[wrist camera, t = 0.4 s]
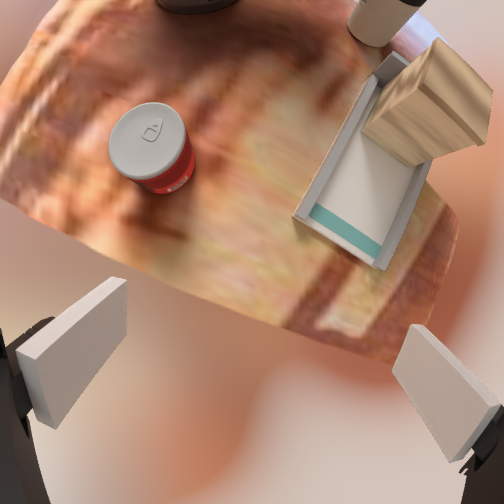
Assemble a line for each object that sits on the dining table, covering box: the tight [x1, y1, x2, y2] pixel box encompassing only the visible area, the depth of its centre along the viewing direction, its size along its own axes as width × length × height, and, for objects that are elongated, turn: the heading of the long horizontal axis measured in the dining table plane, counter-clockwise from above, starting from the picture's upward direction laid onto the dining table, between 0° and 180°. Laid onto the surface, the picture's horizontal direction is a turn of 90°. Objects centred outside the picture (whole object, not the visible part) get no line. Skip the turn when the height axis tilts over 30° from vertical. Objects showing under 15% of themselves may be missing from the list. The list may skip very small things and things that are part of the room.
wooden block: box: [360, 37, 493, 168], centre depth 29 cm, size 9×9×16 cm
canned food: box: [109, 102, 195, 194], centre depth 30 cm, size 8×8×11 cm
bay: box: [292, 50, 433, 271], centre depth 34 cm, size 26×14×9 cm, turn 150°
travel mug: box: [347, 0, 427, 47], centre depth 28 cm, size 8×8×18 cm
